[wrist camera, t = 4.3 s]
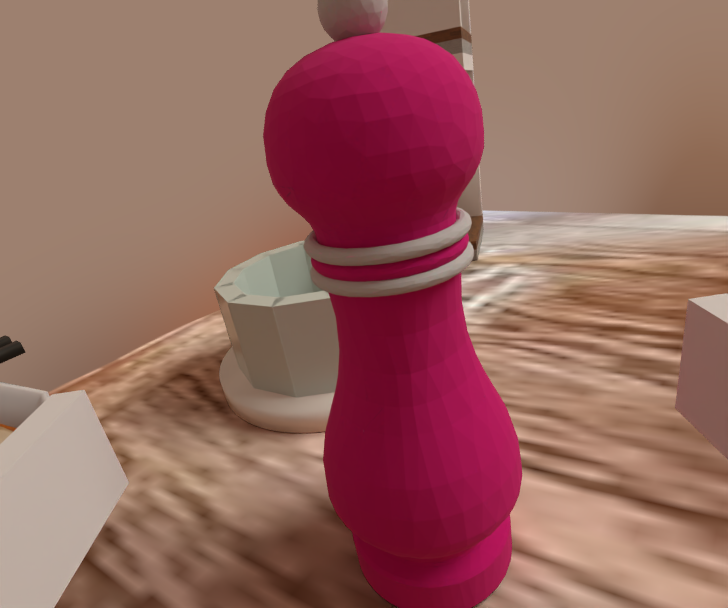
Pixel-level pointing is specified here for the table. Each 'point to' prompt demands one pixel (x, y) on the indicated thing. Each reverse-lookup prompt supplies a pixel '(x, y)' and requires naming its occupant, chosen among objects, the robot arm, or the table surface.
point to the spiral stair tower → (453, 33)
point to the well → (278, 342)
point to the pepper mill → (398, 305)
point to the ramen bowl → (16, 394)
